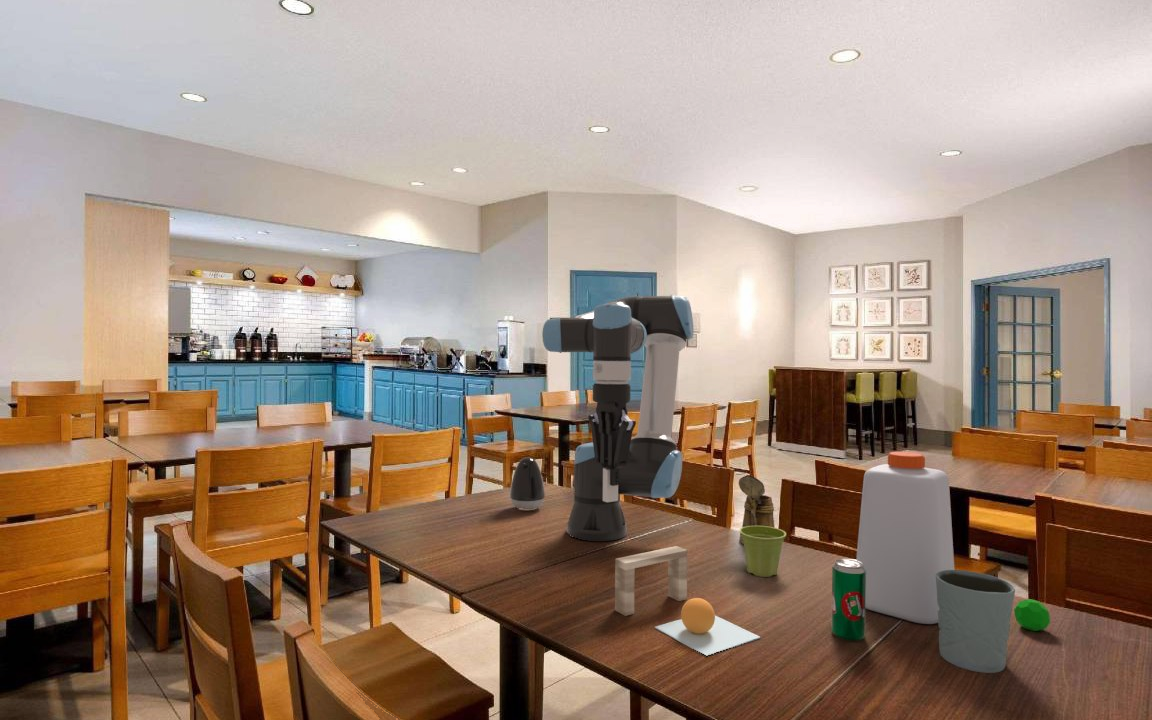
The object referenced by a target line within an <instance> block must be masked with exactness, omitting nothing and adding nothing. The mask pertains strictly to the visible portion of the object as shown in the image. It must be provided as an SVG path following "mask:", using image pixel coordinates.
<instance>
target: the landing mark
mask: <svg viewBox="0 0 1152 720" xmlns="http://www.w3.org/2000/svg"><path fill="white" fill-rule="evenodd" d="M654 629H656V630H658V631H659V632H661V633H662V634H665V635H667V636H669V637H671V638H672V639H674V640H675V641H678V642H680V643H681V644H683V645H684V646H686V647H688V648H690V649H692V650H693V649H694V650H693V651H695V650H696V651H695V652H697V651H698V652H697V653H699V652H700V653H699V654H701V653H702V654H704V655H706V656H708V655H711V654H713V655H715V654H714V653H716V652H719V653H721V652H720V651H722V652H724V651H723V650H725V651H727V650H726V649H728V650H730V649H729V648H731V649H734V648H735V646H736V647H739V646H742V645H745V644H748V643H750V642H753V641H756V640H758V639H761V636H759V635H757V634H755V633H753V632H751V631H750V630H747V629H744V628H743V627H740V626H739V625H736V624H734V623H732V622H730V621H728V620H726V619H724V618H722V617H719V616H718V615H715V621H714V624H713V626H712V628H711V629H710V630H709V631H707V632H706V633H703V634H696V633H693V632H691V631H689V630H688V629H687V628H686V627H685V626H684V624H683V622H682V619H681V618H680V619H678V620H677V619H676V620H674V621H669V622H667V623H663V624H659V625H656V626H654ZM744 643H745V644H744ZM741 644H742V645H741ZM733 647H734V648H733ZM702 654H701V655H702ZM716 654H717V653H716ZM704 655H703V656H704ZM706 656H705V657H706ZM711 656H712V655H711ZM708 657H709V656H708Z"/></svg>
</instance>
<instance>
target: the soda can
mask: <svg viewBox="0 0 1152 720" xmlns="http://www.w3.org/2000/svg"><path fill="white" fill-rule="evenodd" d="M863 566H864V565H863V563H861V562H859V561H856V559H852V558H837V559H835V560H834V564H833V565H832V566H831V568H832V569H831V570H832V572H831V623H830V626H831V628H830V629H831V632H832V633H833V635H834V636H835V637H836V638H838V639H841V640H843V641H849V642H859V641H862V639H864V638H865V637H866V608H865V601H866V571H865V569H864V567H863Z"/></svg>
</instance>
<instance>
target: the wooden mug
mask: <svg viewBox="0 0 1152 720" xmlns="http://www.w3.org/2000/svg"><path fill="white" fill-rule="evenodd" d="M738 487H739V489H740V490H741V492H742V493H743V494H745V495H746V499H745V501H744V506H743V507H744V512H743V519H742V526H741V528H743V527H746V526H768V527H774V528H776V525H775V517H774V511H775V507H774V503H773V499H772V497H771V496H769V495H765V491H766V488H765V484H764V483H763V482H762V481H761V480H760V479H758V478H756V477H755V476H752V475H750V474H746V475H744V476H742V477H740V479H739V480H738ZM738 540H739V543H740V544H742V545H744V541H743V539H742V534H741V533H740V532H739V538H738Z"/></svg>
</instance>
